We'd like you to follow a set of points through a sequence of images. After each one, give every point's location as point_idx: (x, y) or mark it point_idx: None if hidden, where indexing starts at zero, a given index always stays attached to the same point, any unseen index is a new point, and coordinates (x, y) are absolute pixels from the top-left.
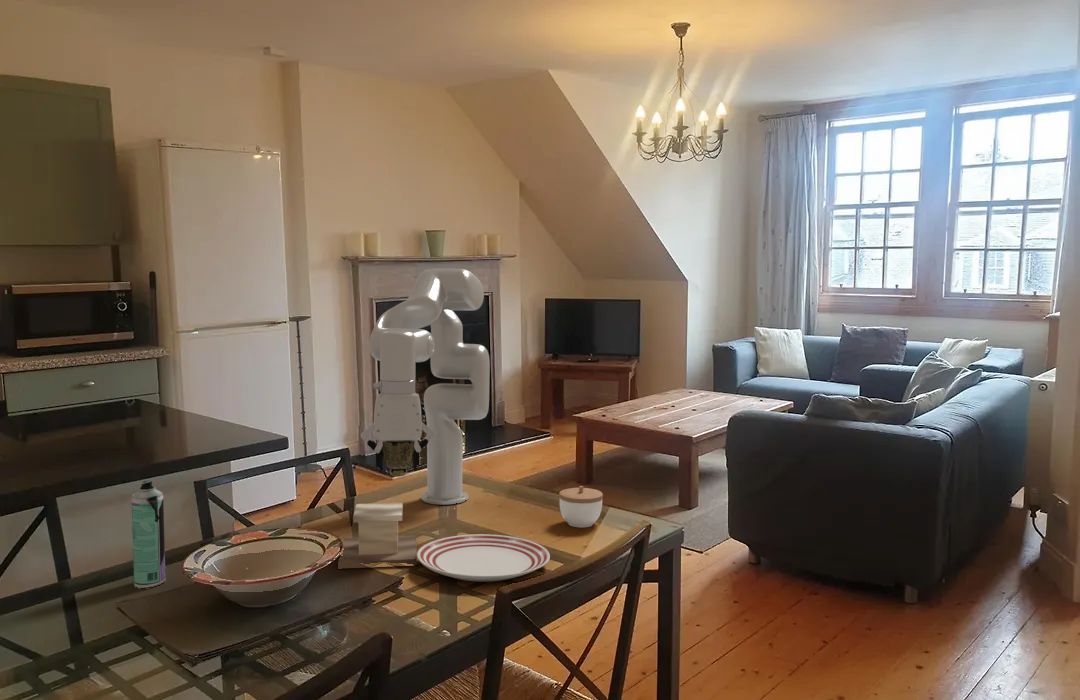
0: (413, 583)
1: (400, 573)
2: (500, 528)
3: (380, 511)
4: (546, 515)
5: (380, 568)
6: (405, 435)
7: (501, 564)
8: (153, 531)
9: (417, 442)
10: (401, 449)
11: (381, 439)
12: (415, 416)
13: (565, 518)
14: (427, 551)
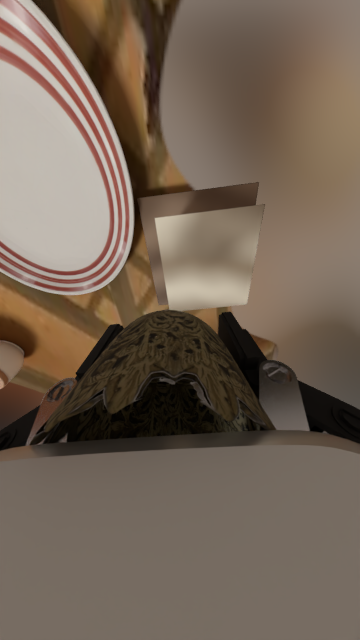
0: (122, 79)
1: (157, 158)
2: (83, 339)
3: (204, 252)
4: (56, 368)
5: (190, 190)
6: (16, 553)
7: (4, 186)
8: None
9: (32, 437)
10: (123, 356)
11: (336, 460)
12: None
13: (12, 349)
14: (124, 221)
